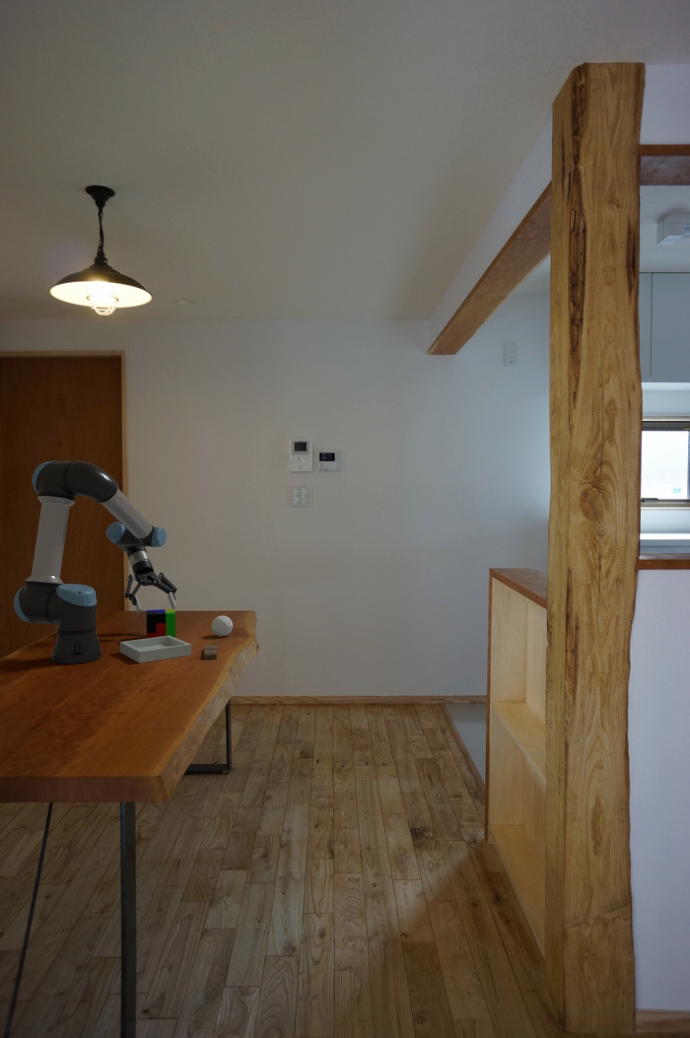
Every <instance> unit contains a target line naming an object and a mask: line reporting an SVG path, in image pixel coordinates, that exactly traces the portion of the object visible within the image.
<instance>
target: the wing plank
mask: <svg viewBox="0 0 690 1038" xmlns="http://www.w3.org/2000/svg"><path fill="white" fill-rule="evenodd" d="M218 649H219V648H218V644H205V648H204V653H203V660H217V657H218Z"/></svg>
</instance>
